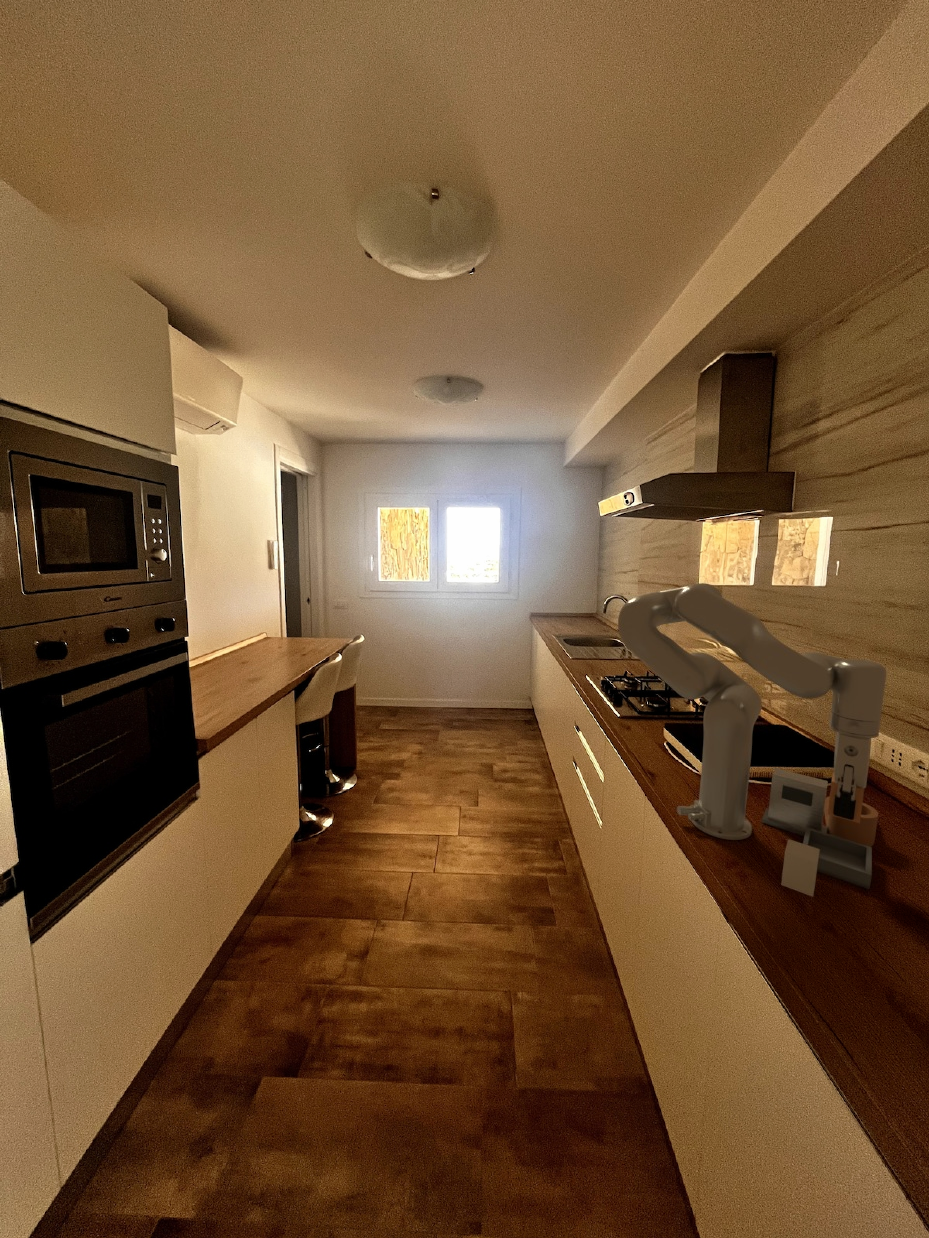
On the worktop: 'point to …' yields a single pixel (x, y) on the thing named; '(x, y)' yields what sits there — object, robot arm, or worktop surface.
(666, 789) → the worktop surface
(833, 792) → the terracotta block
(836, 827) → the bracket
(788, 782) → the mounted unit
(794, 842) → the cream block
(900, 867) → the worktop surface
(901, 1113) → the worktop surface
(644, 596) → the robot arm
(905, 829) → the worktop surface
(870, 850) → the tray
